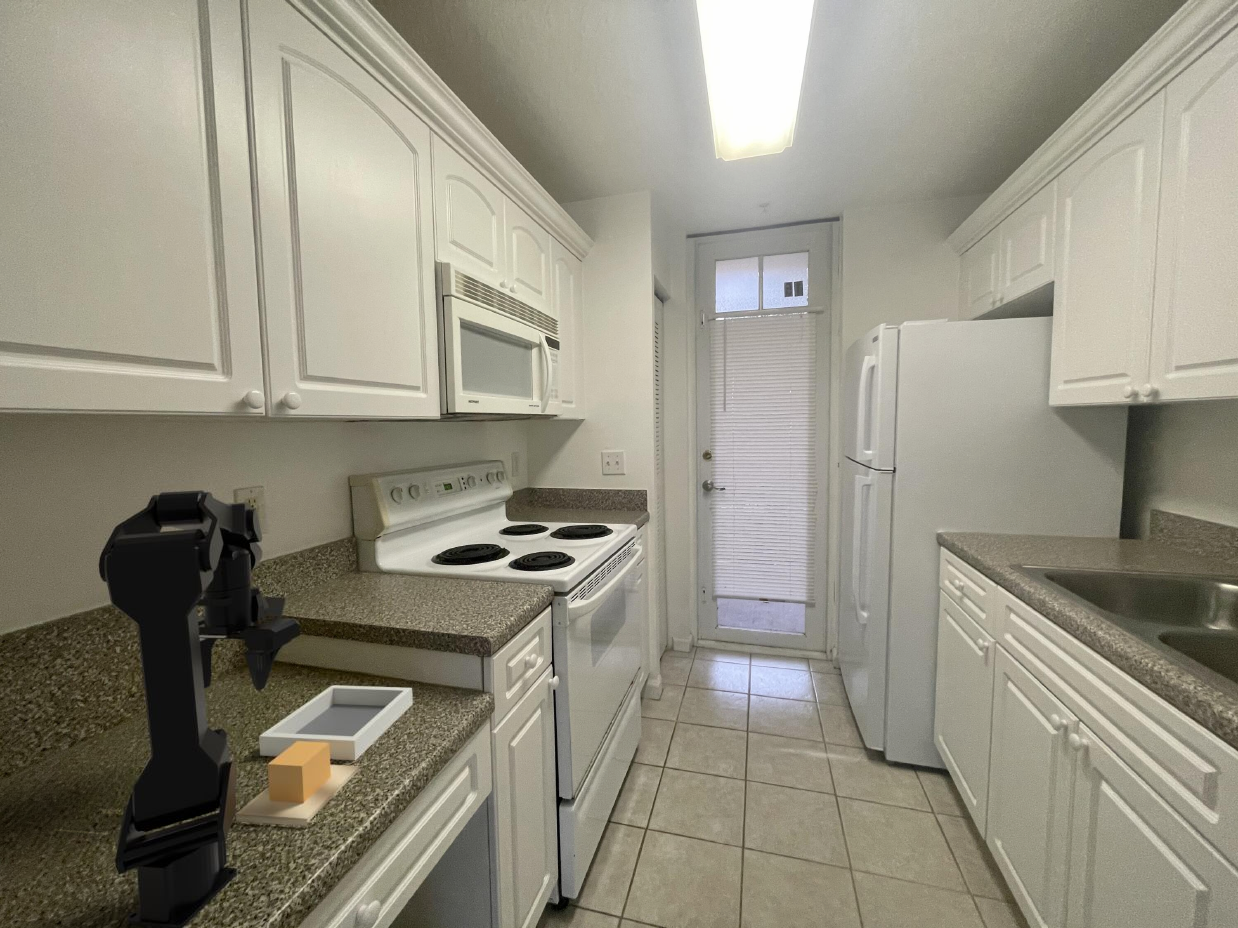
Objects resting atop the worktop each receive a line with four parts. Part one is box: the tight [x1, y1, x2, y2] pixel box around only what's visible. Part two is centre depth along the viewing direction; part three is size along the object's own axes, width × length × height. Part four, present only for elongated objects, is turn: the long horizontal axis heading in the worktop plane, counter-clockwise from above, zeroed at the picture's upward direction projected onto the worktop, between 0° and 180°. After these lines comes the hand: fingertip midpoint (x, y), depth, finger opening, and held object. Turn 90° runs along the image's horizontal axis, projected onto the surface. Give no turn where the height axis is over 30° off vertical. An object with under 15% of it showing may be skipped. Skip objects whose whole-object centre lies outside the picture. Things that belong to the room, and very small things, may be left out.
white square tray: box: [258, 684, 414, 761], centre depth 81 cm, size 16×16×4 cm
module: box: [267, 741, 331, 803], centre depth 66 cm, size 5×5×5 cm
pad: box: [235, 764, 360, 827], centre depth 66 cm, size 10×10×1 cm
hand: (233, 688), depth 72 cm, fingers open, 9 cm apart
